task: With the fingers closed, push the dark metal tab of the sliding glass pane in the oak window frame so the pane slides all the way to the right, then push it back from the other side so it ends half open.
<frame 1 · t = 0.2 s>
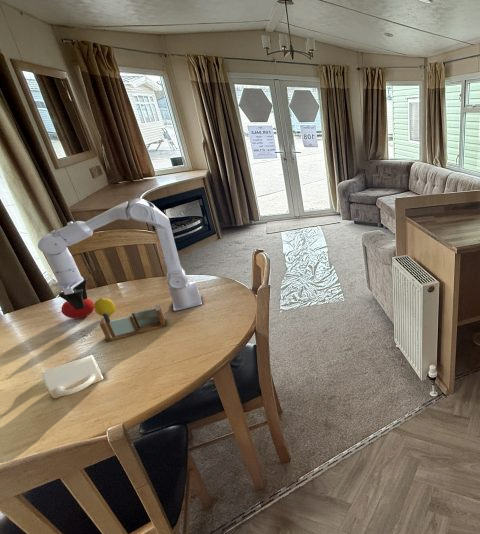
hand: (81, 303, 119), 10 cm above the table, tool pointing down, fingers open, 7 cm apart
tomato: (82, 316, 130), on the table
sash: (120, 322, 117), point 5 cm above the table, slide at 0.0 cm
lemon: (109, 316, 130), on the table
white box with handle: (81, 390, 96), on the table
window frame: (137, 330, 122), on the table
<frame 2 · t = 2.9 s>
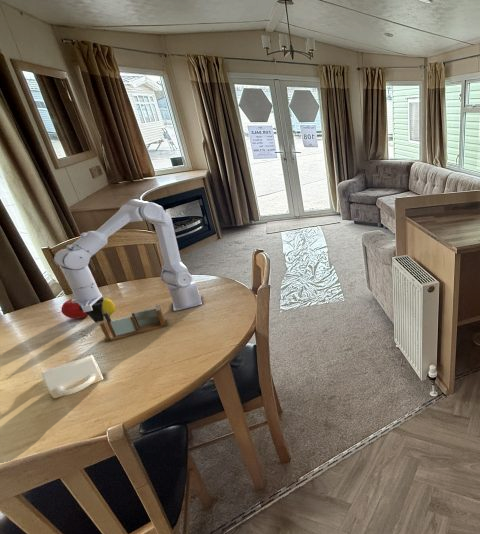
hand: (99, 320, 114), 8 cm above the table, tool pointing down, fingers closed, pressing on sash
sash: (121, 321, 117), point 5 cm above the table, slide at 0.3 cm, touching gripper
everything else where it was.
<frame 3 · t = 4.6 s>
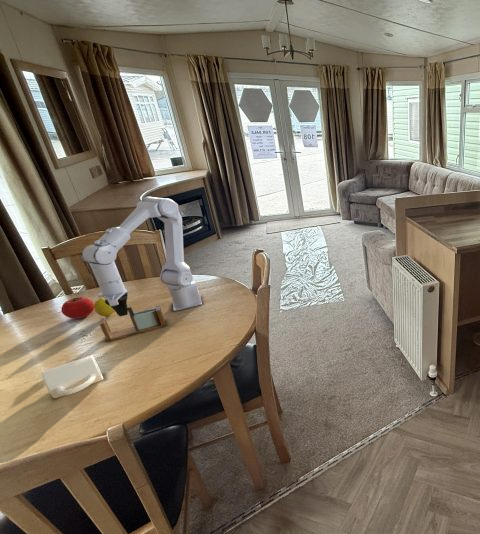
hand: (123, 314, 117), 8 cm above the table, tool pointing down, fingers closed, pressing on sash
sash: (144, 316, 121), point 5 cm above the table, slide at 6.4 cm, touching gripper
everything else where it was.
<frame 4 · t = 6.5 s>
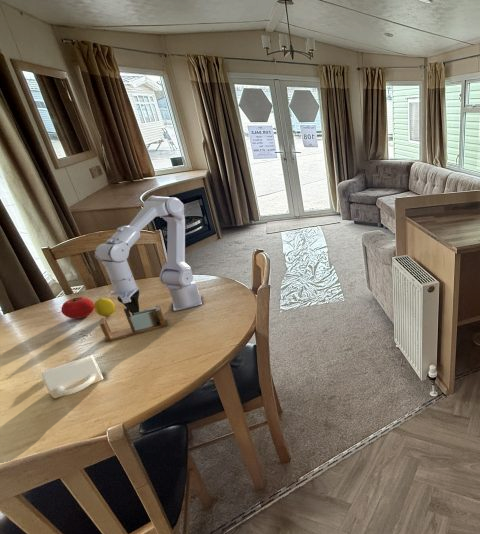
hand: (135, 312, 119), 8 cm above the table, tool pointing down, fingers closed, pressing on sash
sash: (140, 317, 120), point 5 cm above the table, slide at 5.4 cm, touching gripper
everything else where it was.
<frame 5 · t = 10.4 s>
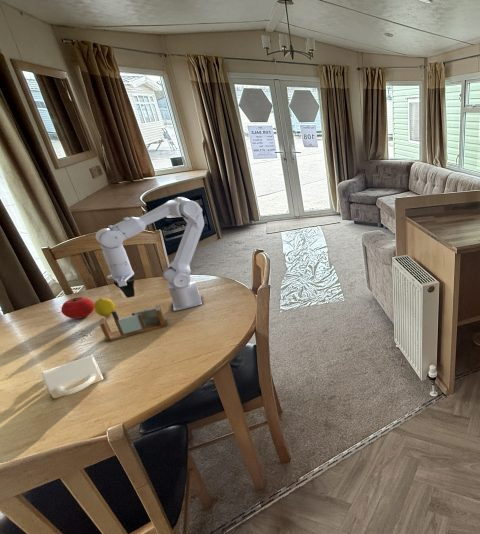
hand: (130, 296, 124), 10 cm above the table, tool pointing down, fingers closed
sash: (129, 320, 119), point 5 cm above the table, slide at 2.2 cm
everything else where it was.
at the end: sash pulled out 6.4 cm at the most during the clip, back to 2.2 cm at the end; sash slide at 2.2 cm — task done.
